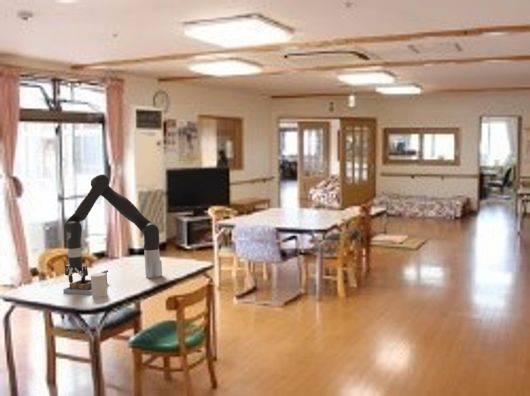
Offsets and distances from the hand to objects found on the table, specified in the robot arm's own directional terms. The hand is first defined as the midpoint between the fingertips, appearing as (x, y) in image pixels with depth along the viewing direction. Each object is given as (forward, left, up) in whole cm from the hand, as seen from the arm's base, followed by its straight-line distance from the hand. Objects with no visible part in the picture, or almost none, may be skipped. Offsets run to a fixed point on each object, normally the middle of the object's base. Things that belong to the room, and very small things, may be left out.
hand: (77, 283), depth 341 cm
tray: (-6, 0, -4) cm, 7 cm away
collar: (-4, 0, -3) cm, 5 cm away
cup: (-22, +8, -4) cm, 24 cm away
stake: (-8, -16, -4) cm, 18 cm away
